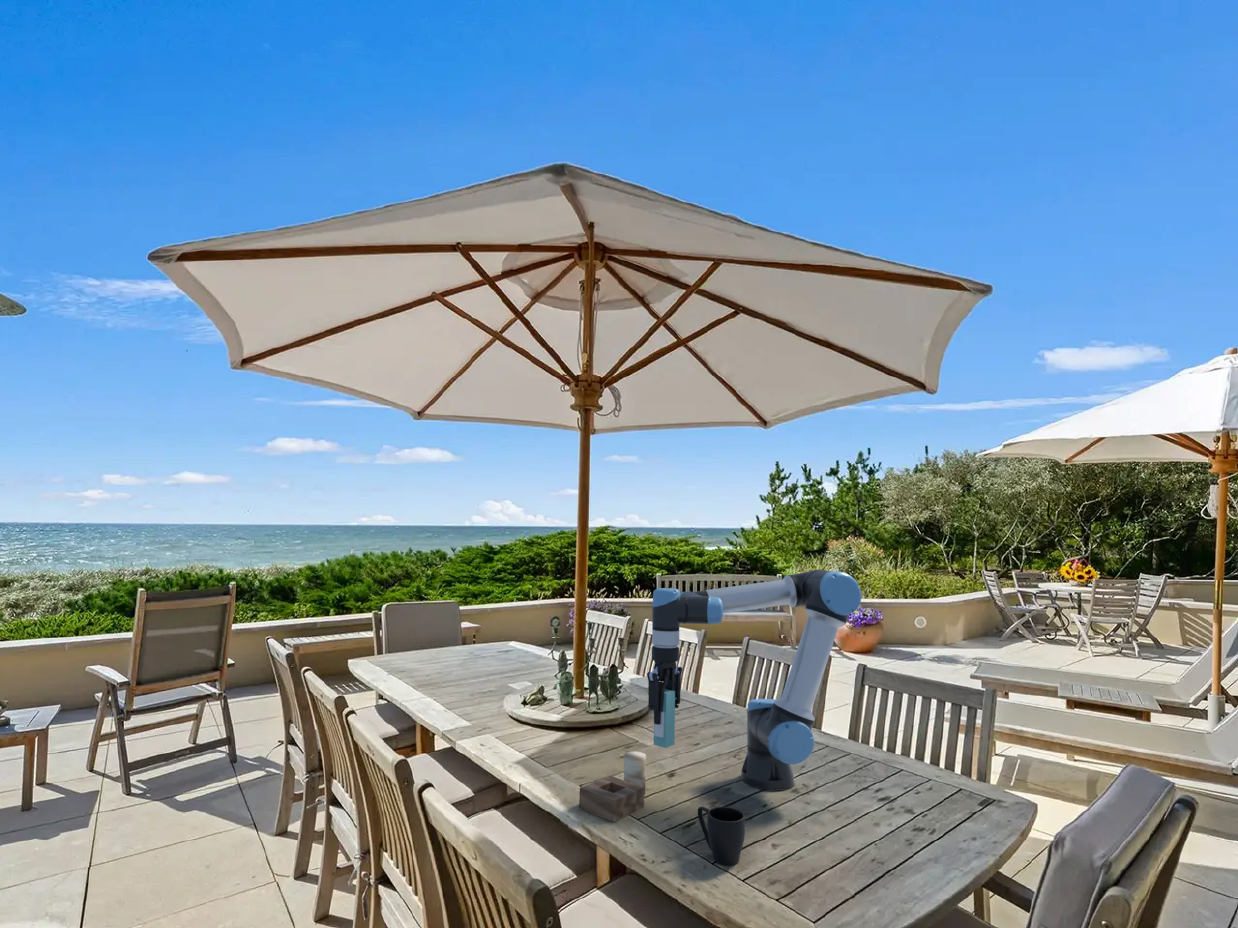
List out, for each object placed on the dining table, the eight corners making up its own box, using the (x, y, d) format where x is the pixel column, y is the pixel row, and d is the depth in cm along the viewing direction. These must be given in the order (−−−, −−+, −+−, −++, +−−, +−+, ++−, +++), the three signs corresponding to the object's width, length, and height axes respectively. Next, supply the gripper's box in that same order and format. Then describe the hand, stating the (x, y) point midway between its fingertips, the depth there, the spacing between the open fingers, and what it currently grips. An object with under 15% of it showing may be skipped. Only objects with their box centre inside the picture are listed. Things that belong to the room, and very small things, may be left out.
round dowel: (632, 786, 181) (633, 749, 182) (649, 792, 177) (650, 754, 178) (619, 792, 176) (620, 754, 177) (636, 798, 172) (636, 760, 174)
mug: (711, 840, 149) (712, 797, 150) (752, 861, 140) (752, 815, 141) (687, 850, 144) (687, 806, 145) (727, 872, 135) (728, 825, 136)
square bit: (662, 741, 175) (663, 688, 176) (674, 744, 172) (675, 690, 174) (653, 744, 172) (654, 690, 173) (665, 747, 169) (666, 693, 171)
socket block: (609, 794, 175) (609, 775, 175) (643, 807, 167) (644, 787, 168) (579, 807, 166) (579, 787, 166) (614, 821, 158) (614, 800, 158)
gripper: (672, 640, 184) (671, 725, 181) (635, 647, 171) (633, 738, 168) (694, 643, 179) (693, 730, 176) (657, 650, 166) (656, 744, 163)
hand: (664, 734), depth 172 cm, fingers closed on square bit, 4 cm apart
